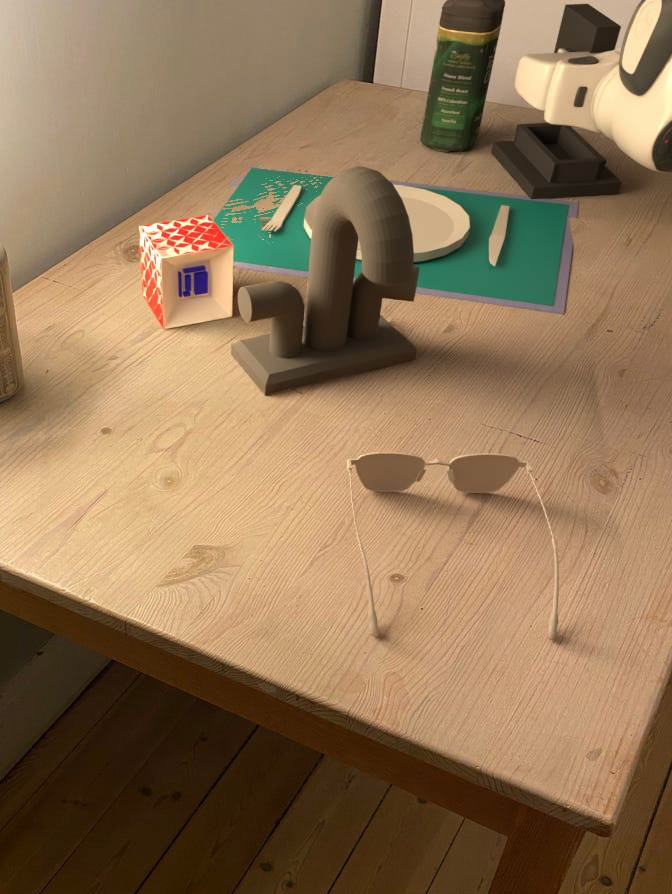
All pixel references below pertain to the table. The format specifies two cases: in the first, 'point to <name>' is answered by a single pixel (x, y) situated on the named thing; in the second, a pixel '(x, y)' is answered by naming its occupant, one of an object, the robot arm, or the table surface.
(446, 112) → the coffee jar
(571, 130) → the base pad
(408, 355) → the faucet
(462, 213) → the place mat
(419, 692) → the table surface
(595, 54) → the robot arm
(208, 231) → the patterned open box
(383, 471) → the eyeglasses
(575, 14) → the upright pad
